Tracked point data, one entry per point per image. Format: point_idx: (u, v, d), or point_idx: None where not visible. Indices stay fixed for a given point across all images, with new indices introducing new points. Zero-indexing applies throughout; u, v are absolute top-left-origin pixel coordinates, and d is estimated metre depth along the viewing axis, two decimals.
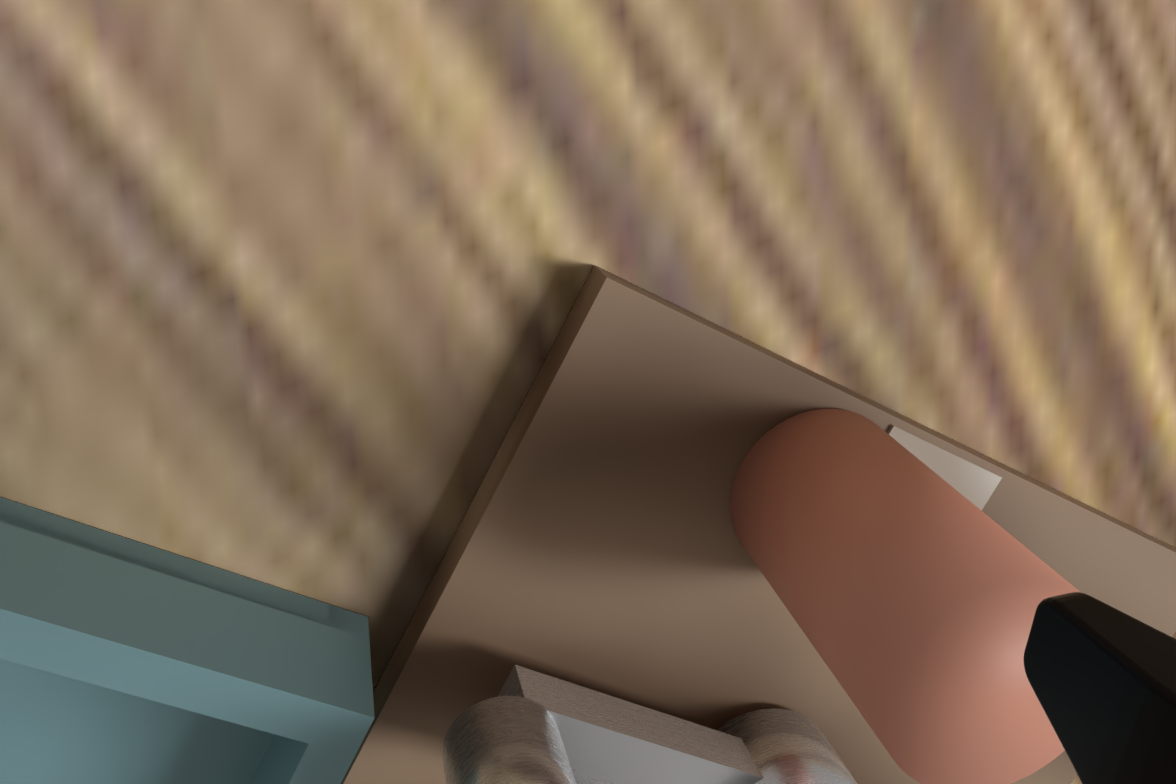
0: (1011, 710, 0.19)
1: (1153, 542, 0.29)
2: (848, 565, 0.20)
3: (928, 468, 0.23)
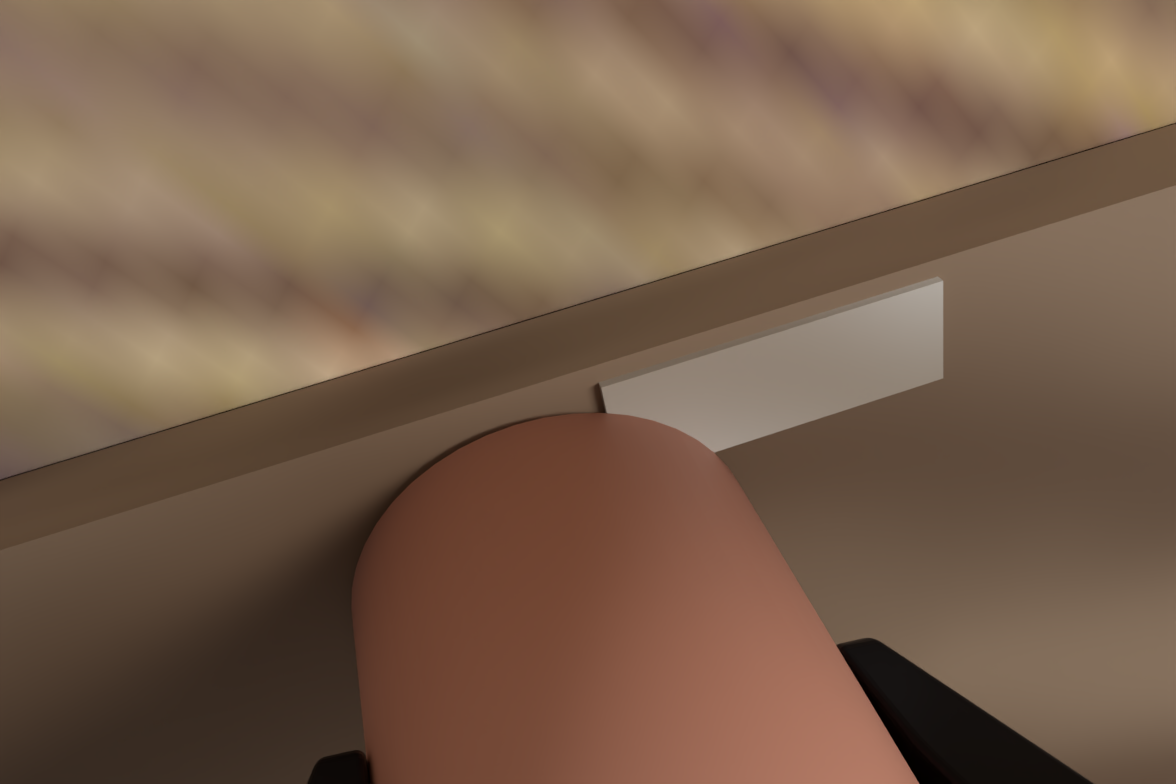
0: None
1: None
2: None
3: (612, 644, 0.08)
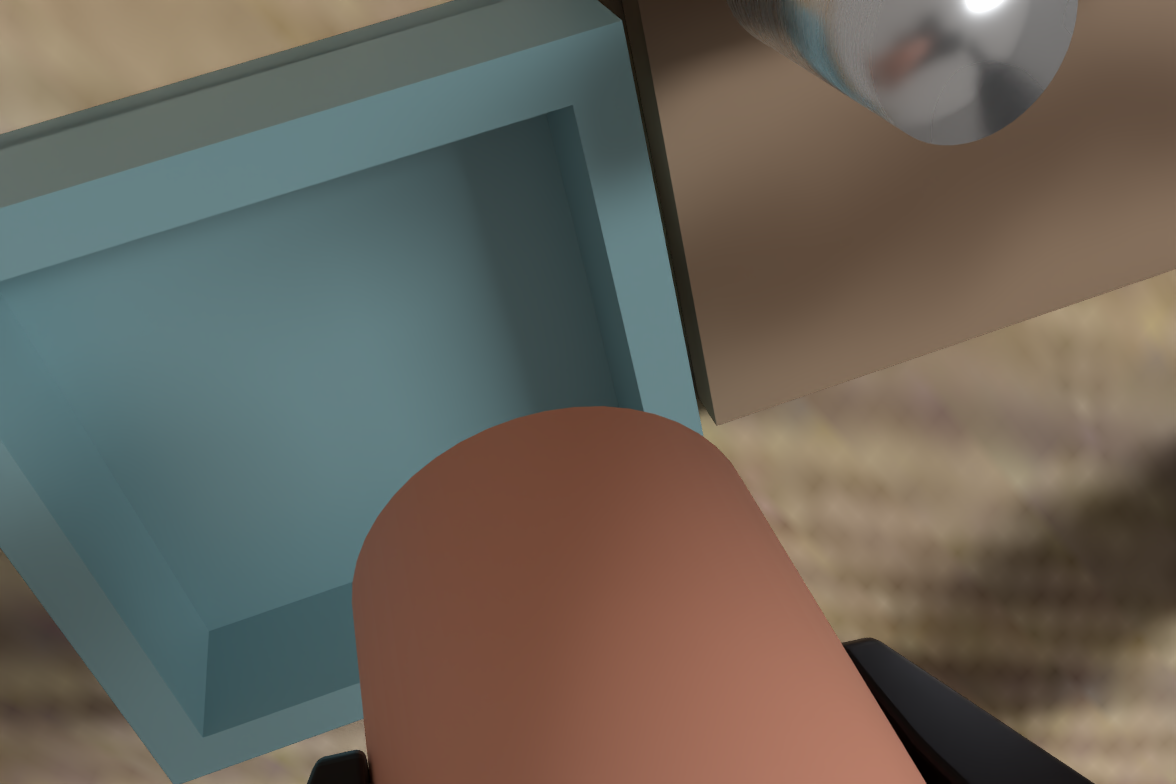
0: None
1: None
2: None
3: (614, 636, 0.08)
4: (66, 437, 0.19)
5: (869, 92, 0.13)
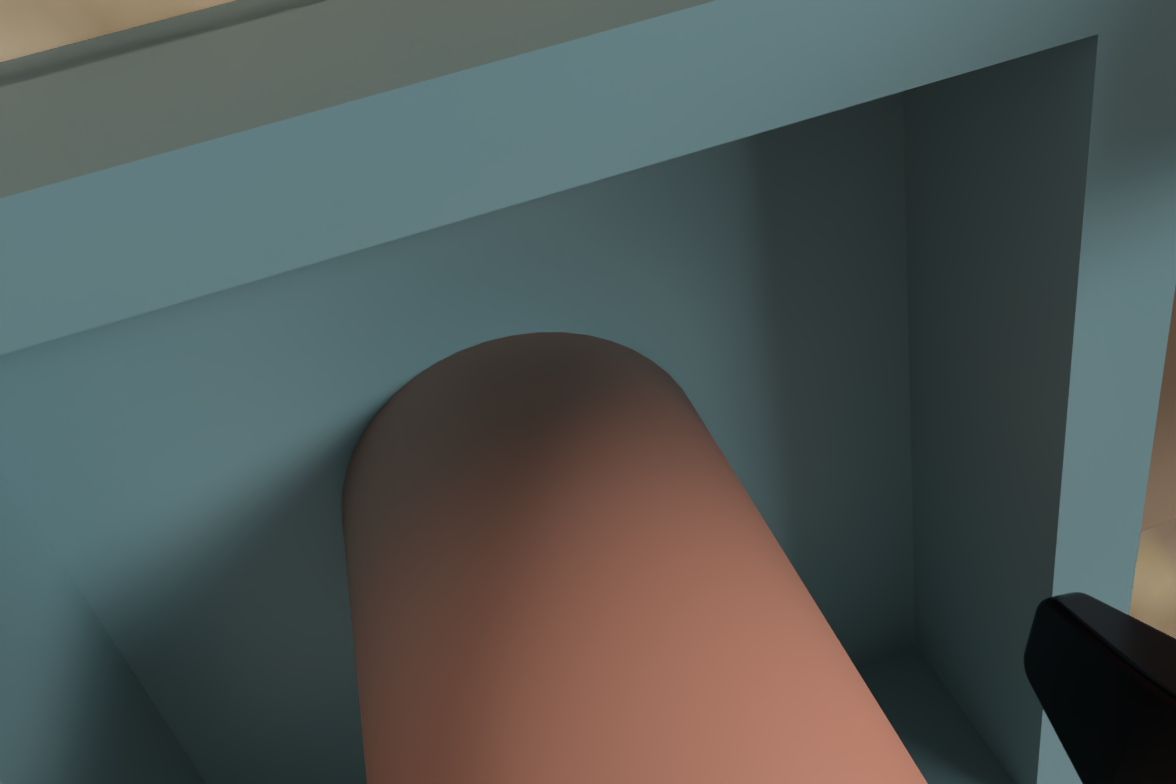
0: None
1: None
2: None
3: (562, 502, 0.09)
4: (50, 622, 0.11)
5: None
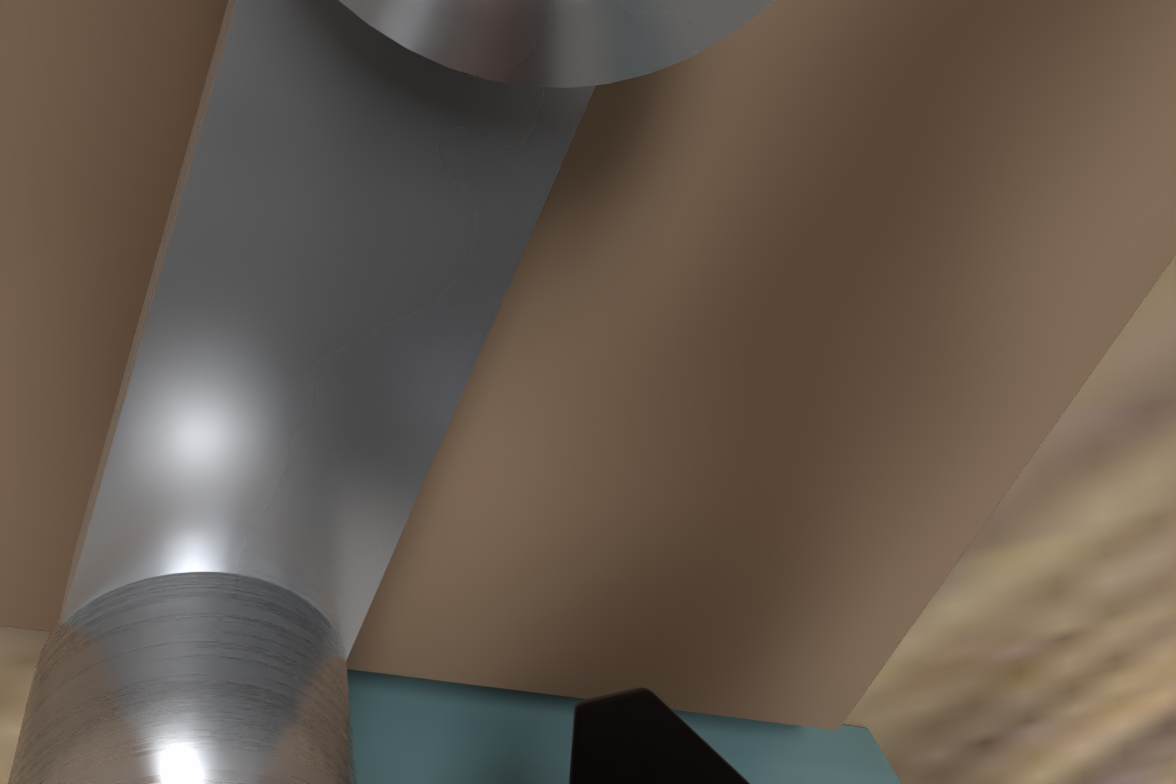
0: None
1: None
2: None
3: None
4: None
5: None
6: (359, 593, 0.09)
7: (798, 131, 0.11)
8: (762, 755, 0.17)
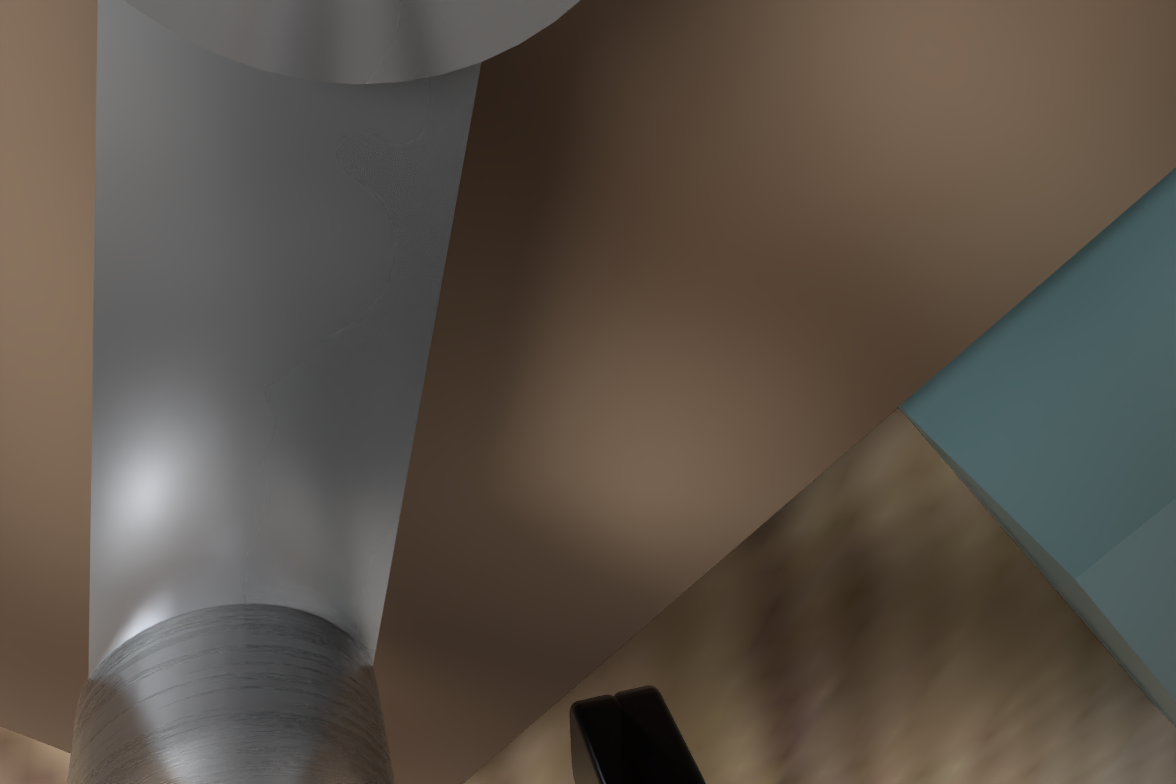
0: None
1: None
2: None
3: None
4: None
5: None
6: (369, 601, 0.09)
7: None
8: None
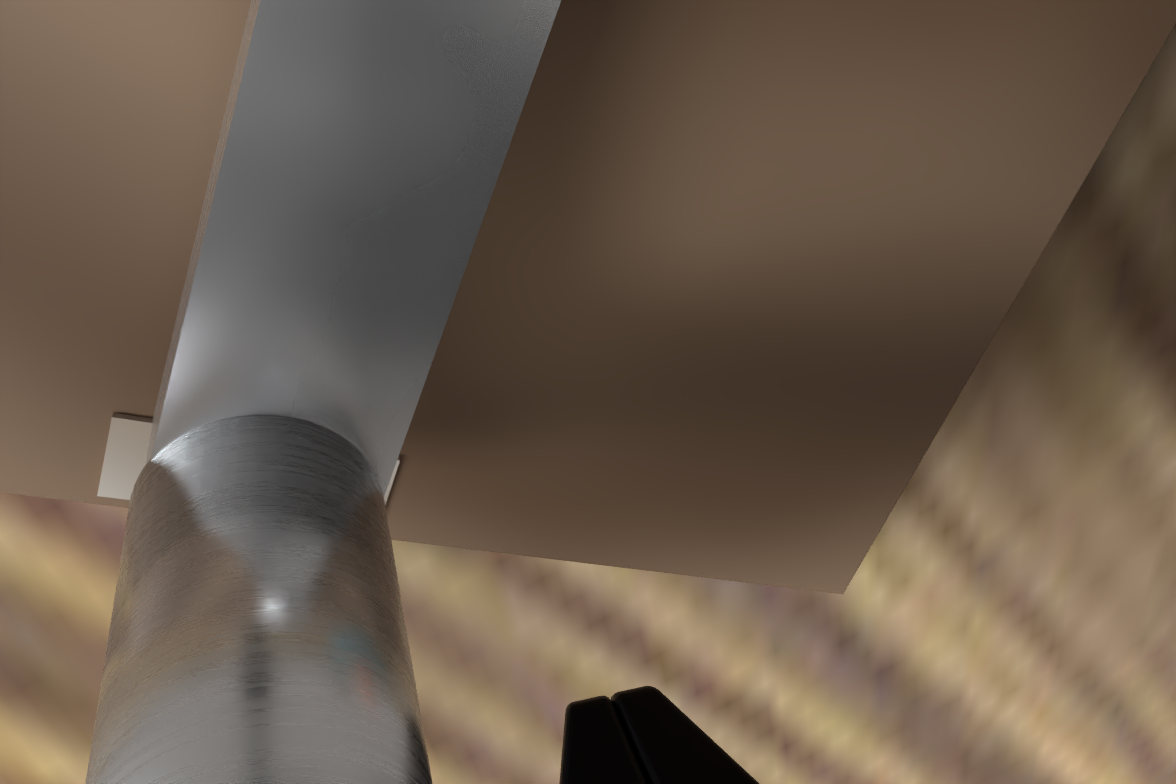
0: None
1: None
2: None
3: None
4: None
5: None
6: (393, 434, 0.11)
7: None
8: None
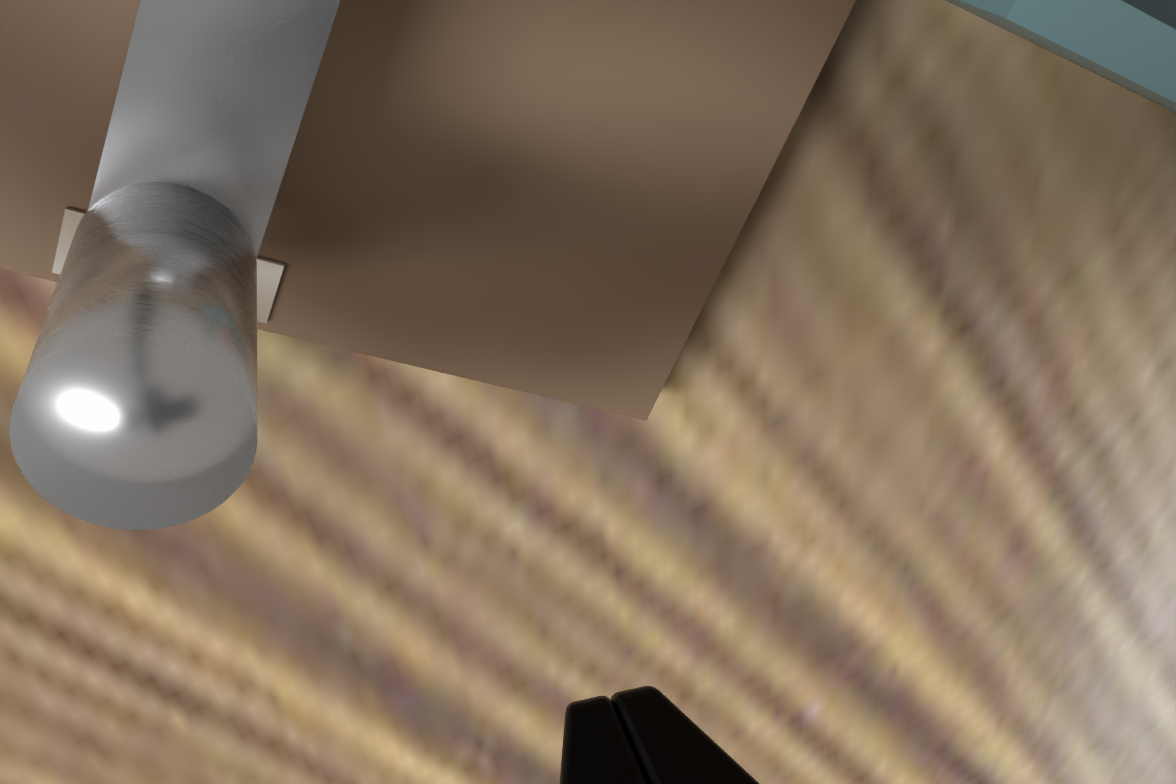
0: None
1: None
2: None
3: None
4: None
5: (147, 517, 0.13)
6: (262, 209, 0.16)
7: None
8: None
